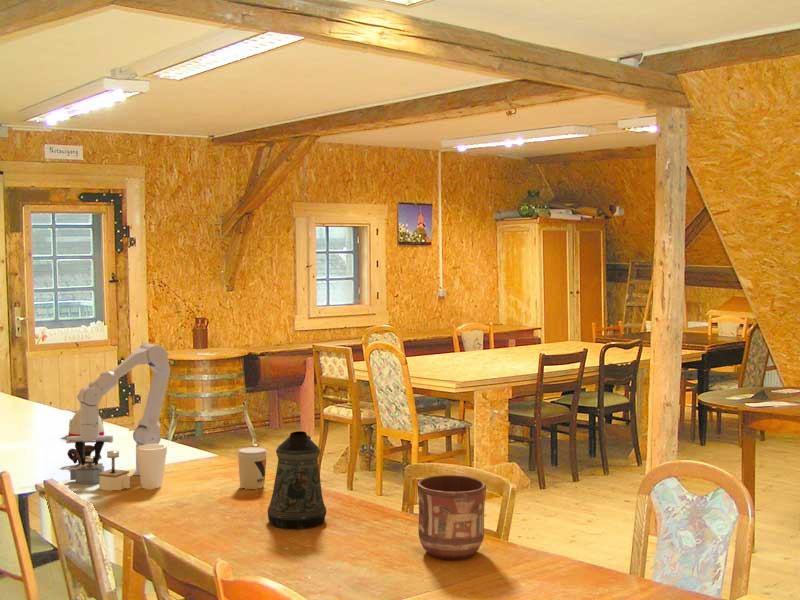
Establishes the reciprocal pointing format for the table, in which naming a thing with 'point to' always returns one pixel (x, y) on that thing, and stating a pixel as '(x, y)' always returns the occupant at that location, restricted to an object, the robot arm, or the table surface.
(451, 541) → the pottery
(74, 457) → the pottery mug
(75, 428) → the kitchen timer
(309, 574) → the table surface
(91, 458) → the metal bulb with stem
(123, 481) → the cream boxy piece
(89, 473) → the gray faceted block
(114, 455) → the cream pot plunger
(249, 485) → the coffee cup
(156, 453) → the foam cup
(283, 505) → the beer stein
